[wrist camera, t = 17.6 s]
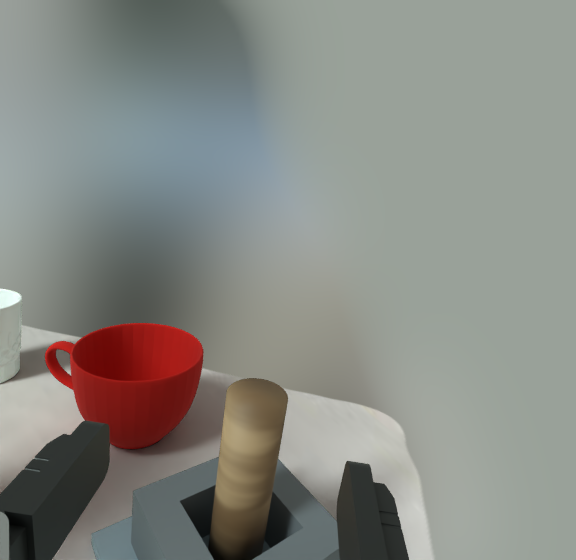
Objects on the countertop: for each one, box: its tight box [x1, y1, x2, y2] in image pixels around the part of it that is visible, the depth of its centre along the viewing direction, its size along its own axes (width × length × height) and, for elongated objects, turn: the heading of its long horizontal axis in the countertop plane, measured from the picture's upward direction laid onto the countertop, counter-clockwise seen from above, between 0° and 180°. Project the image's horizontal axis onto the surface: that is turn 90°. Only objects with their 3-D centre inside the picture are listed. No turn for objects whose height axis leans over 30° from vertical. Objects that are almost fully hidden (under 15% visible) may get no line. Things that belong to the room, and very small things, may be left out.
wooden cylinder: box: [208, 378, 288, 560], centre depth 28 cm, size 4×4×15 cm
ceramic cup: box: [45, 323, 203, 449], centre depth 42 cm, size 13×17×10 cm
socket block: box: [92, 457, 340, 560], centre depth 29 cm, size 16×16×6 cm
